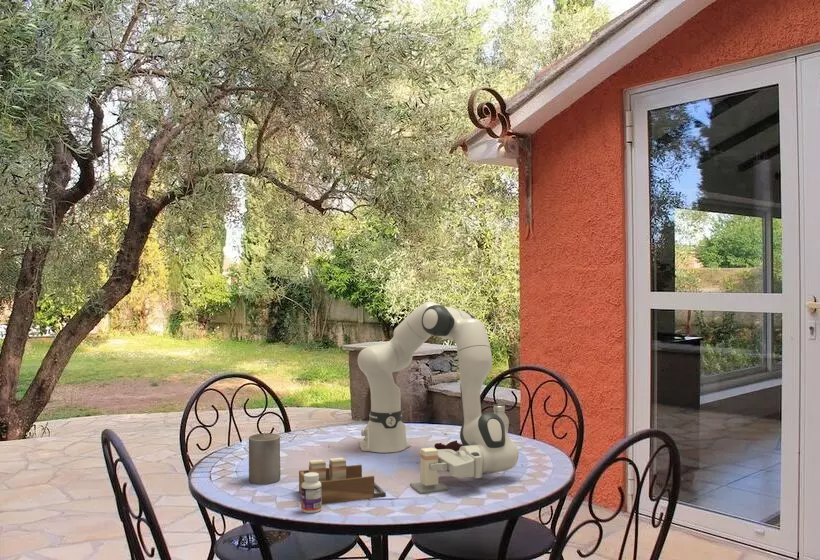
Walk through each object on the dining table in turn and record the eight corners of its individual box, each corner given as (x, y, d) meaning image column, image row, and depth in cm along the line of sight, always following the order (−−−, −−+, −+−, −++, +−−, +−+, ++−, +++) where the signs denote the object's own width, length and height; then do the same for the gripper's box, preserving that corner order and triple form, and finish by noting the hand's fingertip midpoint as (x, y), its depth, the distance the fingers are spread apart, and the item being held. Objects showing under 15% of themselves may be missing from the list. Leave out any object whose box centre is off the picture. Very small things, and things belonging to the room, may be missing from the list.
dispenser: (299, 491, 200) (298, 457, 200) (371, 483, 208) (371, 450, 208) (308, 505, 187) (308, 469, 187) (385, 496, 195) (385, 461, 195)
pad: (409, 485, 205) (409, 483, 205) (437, 482, 208) (437, 480, 208) (420, 494, 197) (420, 491, 197) (448, 490, 200) (448, 488, 200)
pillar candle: (253, 475, 217) (252, 429, 217) (283, 475, 216) (283, 428, 216) (245, 485, 207) (244, 436, 207) (276, 485, 207) (276, 436, 207)
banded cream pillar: (420, 482, 204) (420, 448, 204) (433, 480, 205) (432, 447, 205) (425, 485, 200) (425, 451, 200) (438, 484, 201) (438, 450, 201)
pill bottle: (302, 507, 186) (302, 471, 186) (322, 506, 186) (321, 471, 186) (300, 513, 180) (300, 477, 180) (321, 513, 181) (320, 476, 181)
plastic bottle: (509, 467, 225) (508, 407, 225) (488, 466, 226) (488, 406, 226) (510, 462, 231) (509, 403, 231) (490, 461, 232) (490, 403, 232)
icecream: (477, 439, 238) (435, 441, 240) (476, 438, 231) (432, 441, 233) (479, 459, 237) (436, 462, 238) (478, 459, 229) (434, 462, 231)
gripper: (454, 442, 217) (414, 446, 212) (483, 457, 198) (439, 462, 193) (454, 462, 217) (414, 466, 212) (483, 479, 197) (439, 484, 193)
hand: (426, 464), depth 202 cm, fingers closed on banded cream pillar, 4 cm apart
